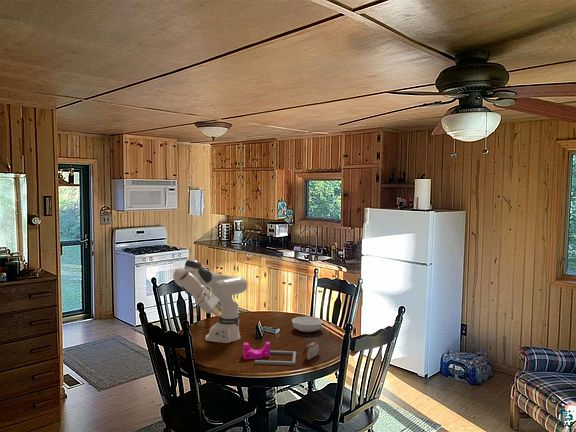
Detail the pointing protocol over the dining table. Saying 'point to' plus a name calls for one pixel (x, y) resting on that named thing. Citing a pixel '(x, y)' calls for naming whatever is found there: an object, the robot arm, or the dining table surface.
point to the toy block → (256, 351)
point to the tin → (311, 350)
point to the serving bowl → (307, 324)
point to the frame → (279, 361)
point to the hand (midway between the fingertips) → (219, 313)
